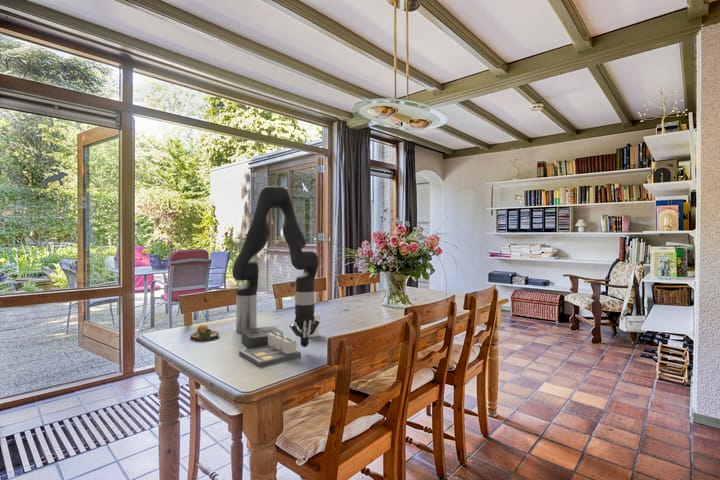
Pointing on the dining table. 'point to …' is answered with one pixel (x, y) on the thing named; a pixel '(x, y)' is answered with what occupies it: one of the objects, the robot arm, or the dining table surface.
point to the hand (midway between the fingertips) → (304, 346)
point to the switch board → (266, 355)
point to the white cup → (316, 332)
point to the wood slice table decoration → (204, 334)
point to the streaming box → (257, 336)
